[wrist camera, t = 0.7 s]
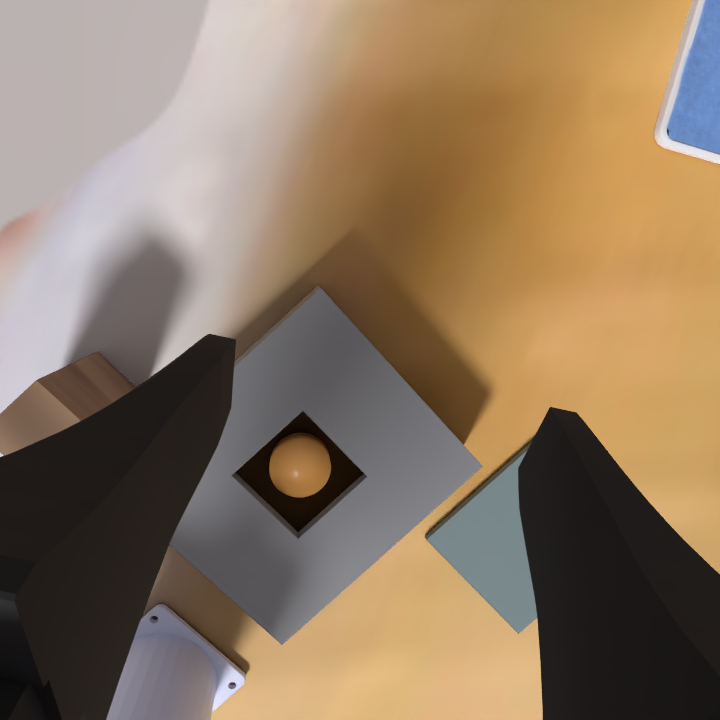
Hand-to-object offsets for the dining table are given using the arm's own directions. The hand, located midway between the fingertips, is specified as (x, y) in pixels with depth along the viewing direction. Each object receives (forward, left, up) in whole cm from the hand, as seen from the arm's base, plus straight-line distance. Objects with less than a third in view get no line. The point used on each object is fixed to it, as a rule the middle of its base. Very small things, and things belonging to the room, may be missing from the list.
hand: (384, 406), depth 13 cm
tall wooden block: (-13, +6, -22) cm, 26 cm away
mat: (0, -20, -22) cm, 30 cm away
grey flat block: (-7, -5, -22) cm, 24 cm away
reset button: (-7, -5, -20) cm, 22 cm away
